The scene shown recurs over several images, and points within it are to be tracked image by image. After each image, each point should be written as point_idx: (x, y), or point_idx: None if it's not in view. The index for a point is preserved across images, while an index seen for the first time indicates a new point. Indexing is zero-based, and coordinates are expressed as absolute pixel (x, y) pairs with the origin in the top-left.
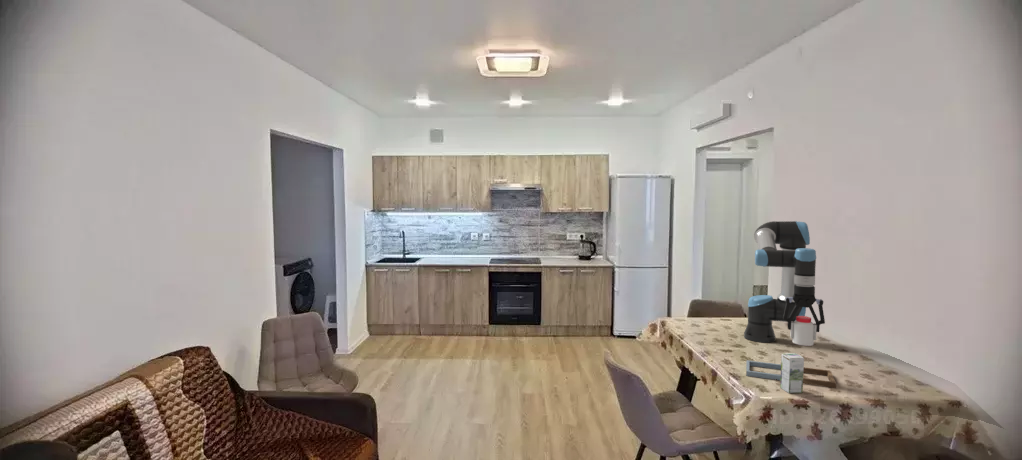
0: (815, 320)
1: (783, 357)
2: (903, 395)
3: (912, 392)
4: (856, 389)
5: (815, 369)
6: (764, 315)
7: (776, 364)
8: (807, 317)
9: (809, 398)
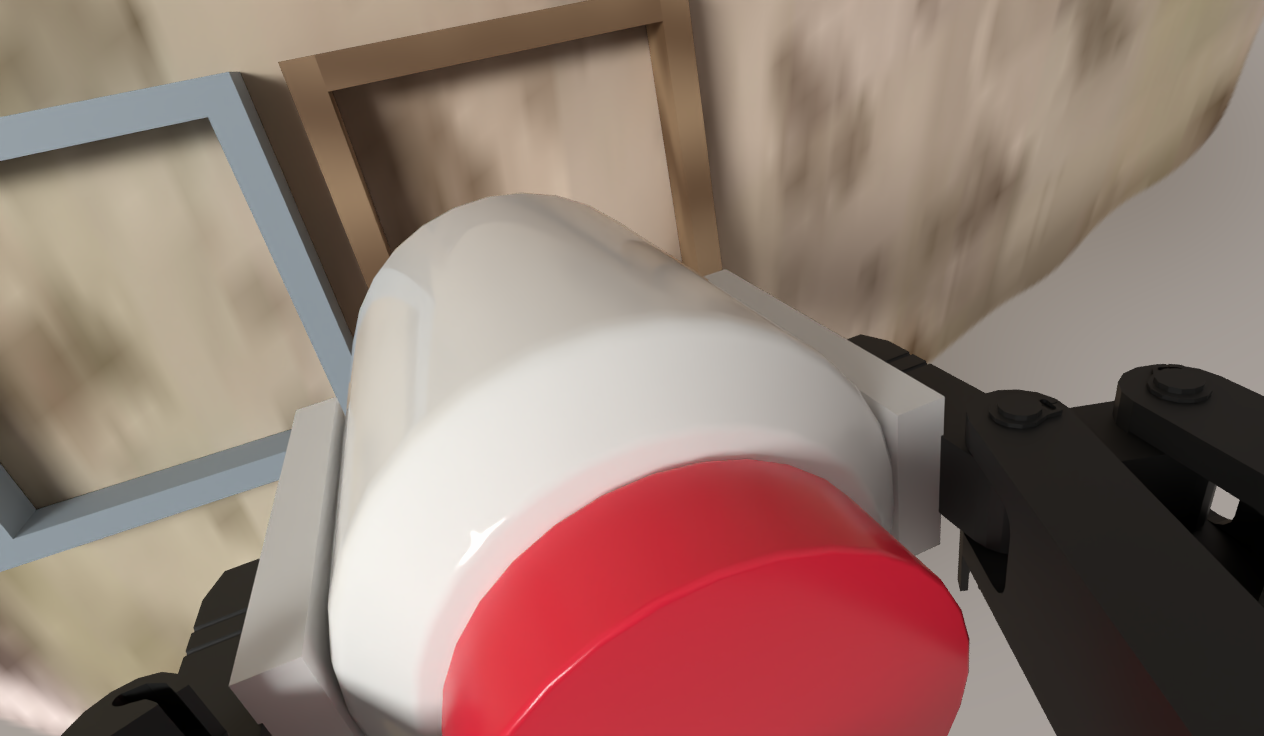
0: (1021, 637)
1: None
2: (1046, 176)
3: (1111, 72)
4: (826, 252)
5: (559, 39)
6: None
7: (133, 118)
8: (868, 683)
9: None
